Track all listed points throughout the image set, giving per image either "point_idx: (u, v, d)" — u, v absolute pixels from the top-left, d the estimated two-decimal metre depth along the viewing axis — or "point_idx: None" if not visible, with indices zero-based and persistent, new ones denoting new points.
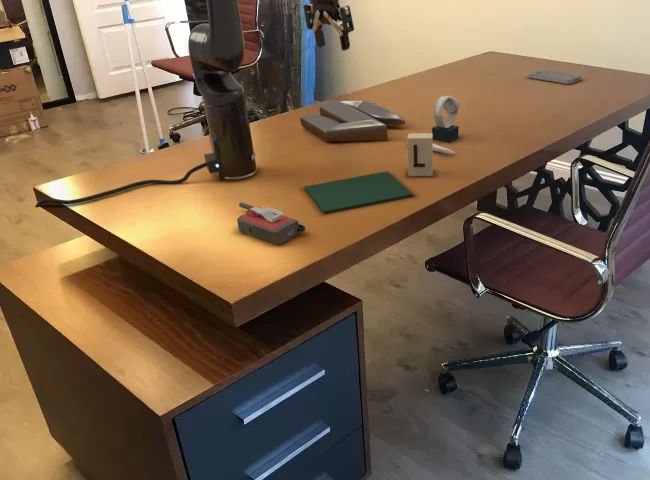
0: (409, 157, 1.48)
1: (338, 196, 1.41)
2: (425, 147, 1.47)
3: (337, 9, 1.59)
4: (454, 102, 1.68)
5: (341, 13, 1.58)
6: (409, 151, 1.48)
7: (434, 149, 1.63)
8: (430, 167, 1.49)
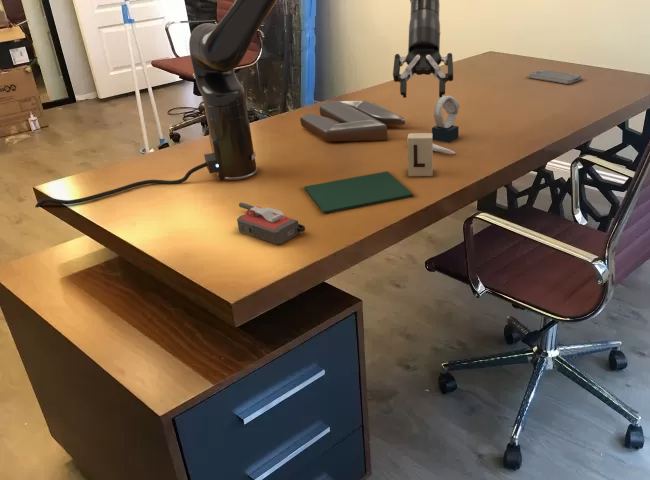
0: (409, 157, 1.48)
1: (338, 196, 1.41)
2: (425, 147, 1.47)
3: (441, 56, 1.55)
4: (454, 102, 1.68)
5: (448, 57, 1.54)
6: (409, 151, 1.48)
7: (434, 149, 1.63)
8: (430, 167, 1.49)
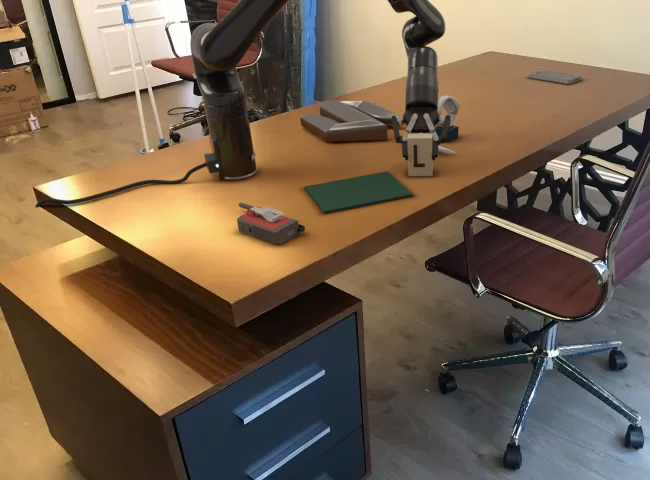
0: (409, 157, 1.48)
1: (338, 196, 1.41)
2: (425, 147, 1.47)
3: (439, 115, 1.50)
4: (454, 102, 1.68)
5: (446, 119, 1.49)
6: (409, 151, 1.48)
7: None
8: (430, 167, 1.49)
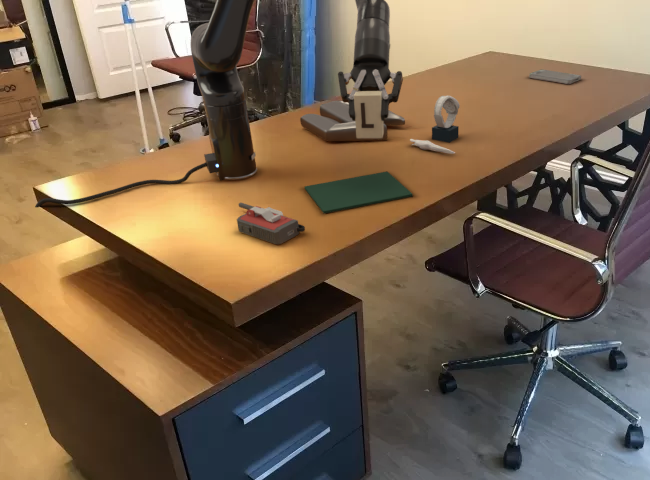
0: (356, 117, 1.36)
1: (338, 196, 1.41)
2: (373, 105, 1.34)
3: None
4: (454, 102, 1.68)
5: (397, 75, 1.36)
6: (356, 110, 1.35)
7: (434, 149, 1.63)
8: (380, 128, 1.37)
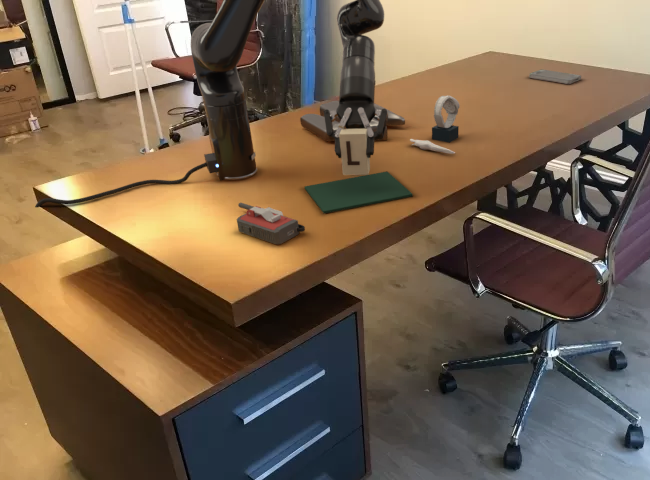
0: (342, 154, 1.38)
1: (338, 196, 1.41)
2: (358, 143, 1.36)
3: (375, 109, 1.39)
4: (454, 102, 1.68)
5: (382, 113, 1.38)
6: (342, 148, 1.37)
7: (434, 149, 1.63)
8: (365, 165, 1.39)
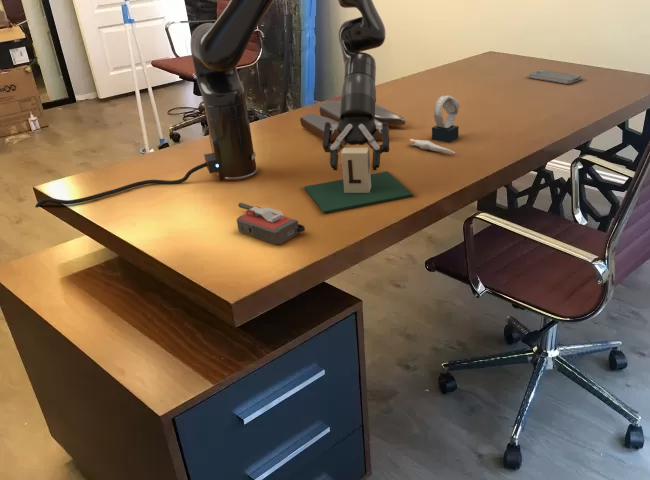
0: (344, 173, 1.40)
1: (338, 196, 1.41)
2: (360, 162, 1.38)
3: (376, 125, 1.41)
4: (454, 102, 1.68)
5: (383, 126, 1.40)
6: (343, 167, 1.39)
7: (434, 149, 1.63)
8: (367, 183, 1.41)
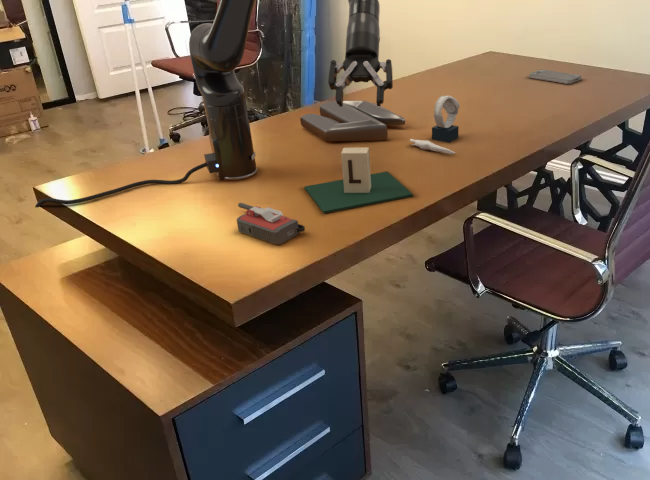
0: (344, 173, 1.40)
1: (338, 196, 1.41)
2: (360, 162, 1.38)
3: (380, 63, 1.46)
4: (454, 102, 1.68)
5: (387, 64, 1.45)
6: (343, 167, 1.39)
7: (434, 149, 1.63)
8: (367, 183, 1.41)
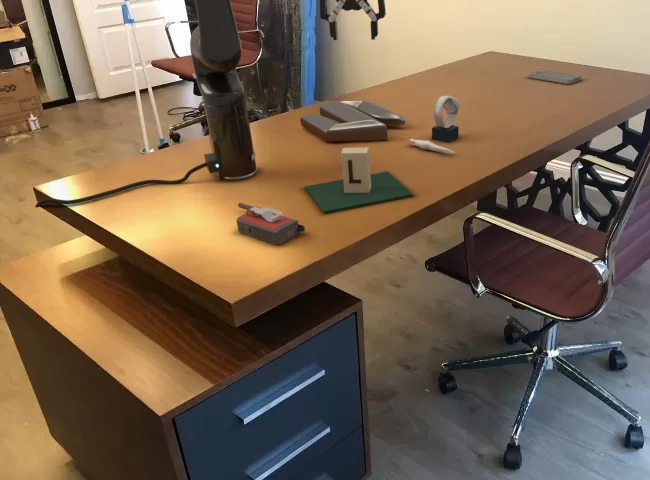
0: (344, 173, 1.40)
1: (338, 196, 1.41)
2: (360, 162, 1.38)
3: None
4: (454, 102, 1.68)
5: None
6: (343, 167, 1.39)
7: (434, 149, 1.63)
8: (367, 183, 1.41)
